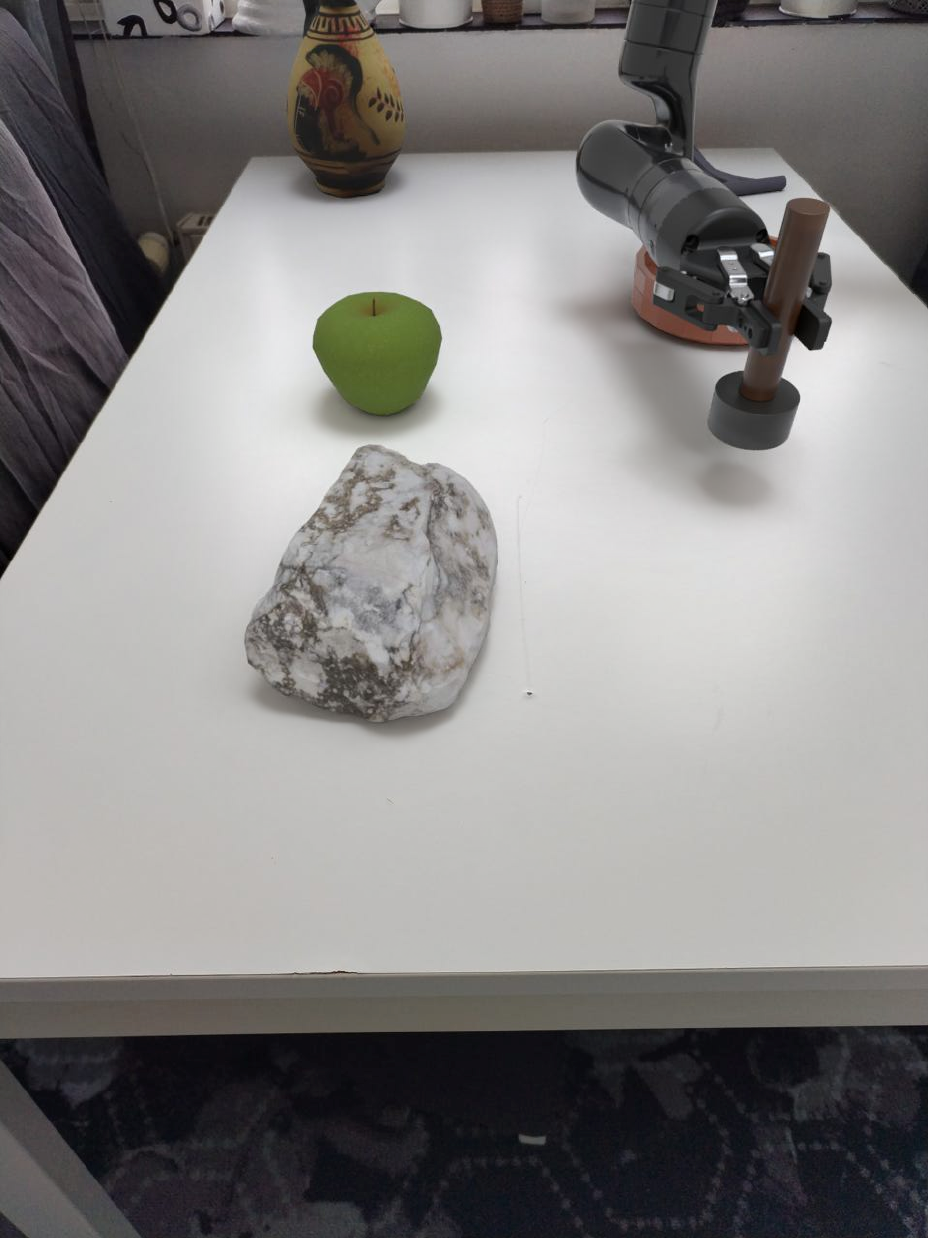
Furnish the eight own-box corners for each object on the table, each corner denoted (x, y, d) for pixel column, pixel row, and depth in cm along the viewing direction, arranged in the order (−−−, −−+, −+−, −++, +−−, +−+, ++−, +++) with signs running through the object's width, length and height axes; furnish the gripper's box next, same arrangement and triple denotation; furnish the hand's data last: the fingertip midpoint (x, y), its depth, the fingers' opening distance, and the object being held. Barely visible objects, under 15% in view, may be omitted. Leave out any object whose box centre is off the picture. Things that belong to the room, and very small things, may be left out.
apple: (457, 382, 80) (454, 275, 73) (423, 444, 73) (416, 332, 65) (348, 368, 82) (335, 263, 75) (304, 427, 75) (285, 317, 68)
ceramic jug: (431, 176, 119) (419, -105, 98) (364, 213, 110) (335, -89, 89) (334, 157, 126) (303, -111, 105) (264, 190, 117) (214, -96, 95)
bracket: (728, 156, 123) (732, 134, 121) (784, 190, 113) (789, 167, 111) (636, 168, 120) (638, 146, 118) (684, 205, 110) (688, 181, 108)
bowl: (760, 267, 96) (771, 221, 93) (836, 340, 84) (852, 290, 80) (609, 282, 94) (614, 235, 91) (664, 359, 82) (672, 309, 78)
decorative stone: (353, 491, 65) (358, 391, 57) (520, 550, 65) (550, 457, 56) (236, 703, 55) (222, 618, 46) (436, 776, 54) (457, 703, 45)
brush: (770, 401, 67) (833, 183, 55) (802, 446, 63) (877, 221, 51) (696, 408, 66) (743, 189, 54) (723, 454, 62) (781, 228, 50)
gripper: (620, 193, 64) (707, 293, 52) (795, 178, 66) (918, 273, 54) (609, 290, 70) (686, 402, 58) (771, 275, 71) (878, 380, 59)
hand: (798, 339), depth 56 cm, fingers closed on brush, 2 cm apart
